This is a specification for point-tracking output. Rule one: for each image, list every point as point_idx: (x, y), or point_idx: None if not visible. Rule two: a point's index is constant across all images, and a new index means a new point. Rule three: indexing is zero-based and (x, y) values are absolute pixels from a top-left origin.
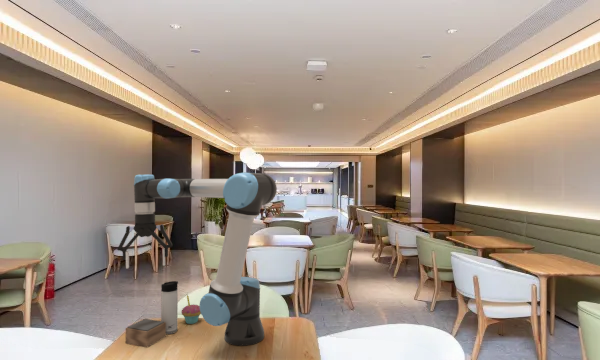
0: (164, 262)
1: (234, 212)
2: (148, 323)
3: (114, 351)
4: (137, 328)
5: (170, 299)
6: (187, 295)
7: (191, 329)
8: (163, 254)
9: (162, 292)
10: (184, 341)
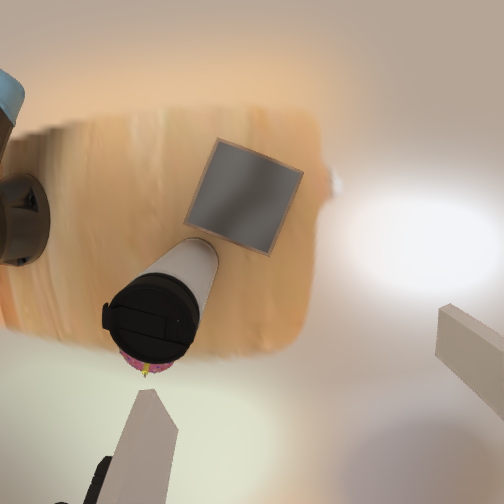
0: (133, 409)
1: None
2: (237, 204)
3: (303, 126)
4: (259, 157)
5: (152, 264)
6: (144, 373)
7: (136, 273)
8: (119, 471)
9: (184, 280)
10: (131, 188)
